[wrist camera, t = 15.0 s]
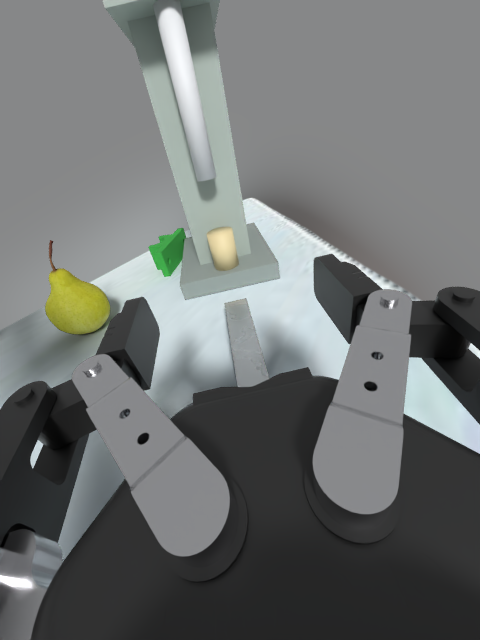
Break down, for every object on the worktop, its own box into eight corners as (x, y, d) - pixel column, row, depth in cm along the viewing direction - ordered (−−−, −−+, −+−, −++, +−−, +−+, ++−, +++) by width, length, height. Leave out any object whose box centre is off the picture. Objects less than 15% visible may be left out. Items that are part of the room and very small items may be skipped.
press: (185, 299, 37) (17, -152, 16) (188, 250, 53) (102, -18, 32) (279, 278, 37) (231, -202, 16) (255, 235, 53) (214, -44, 32)
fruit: (84, 351, 32) (17, 263, 25) (57, 339, 36) (-9, 258, 28) (128, 318, 36) (81, 235, 29) (100, 310, 40) (51, 233, 33)
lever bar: (289, 686, 11) (285, 691, 9) (229, 320, 32) (224, 303, 30) (350, 672, 11) (355, 675, 9) (249, 315, 32) (246, 298, 30)
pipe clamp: (173, 251, 54) (165, 229, 52) (190, 250, 53) (183, 227, 51) (150, 278, 46) (140, 253, 43) (170, 276, 45) (160, 251, 42)
